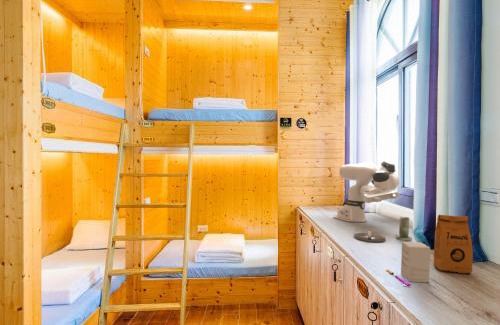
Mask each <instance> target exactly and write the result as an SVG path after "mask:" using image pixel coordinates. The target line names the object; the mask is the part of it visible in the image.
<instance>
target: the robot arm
mask: <svg viewBox="0 0 500 325" xmlns="http://www.w3.org/2000/svg"><path fill="white" fill-rule="evenodd" d="M395 172H396V165H395V163H393V161H391V160H388V159H384V160H382V161H381V162H380V164H379V165H377V164H375V163H373V162H363V163H355V164H353V163H352V164H351V163H350V164H344V165H342V166H341V167H340V168H339V176H340V178H341V179H343V180H347V181H356V184H354V185H351V186H350V187H349V188H348V192H347V194H348V195H347V199H346V200H344V203H345V204H344V205H343V206H341V207H340V208H338V209H337V213H336V214H335V215H334V216H333V218H334V219H336V220H337V219H338V220H341V221H346V222H348V223H349V222H354V223H355V222H356V223H361V222H362V223H365V222H367V218H366V213H365V212H366V209H365V208H366V203H367V204H371V203H380V202H382V201H386V200H391V199H395V200H396V199H397V198H399V197H400V194H399V191H398V190H396V189H397V187H398V186H399V184H400V180H399V177H398V176H397V175H396V174H395ZM370 183H371V184H372V185H373V186H372V185H369V184H370Z"/></svg>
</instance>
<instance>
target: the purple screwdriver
mask: <svg viewBox="0 0 500 325" xmlns="http://www.w3.org/2000/svg"><path fill="white" fill-rule="evenodd" d="M385 271H386V272H387V273H388V272H389V273H388V274H390V275H393V276H394V277H395V278H396V279H397V280H398V279H399V280H398V281H400V282H401V281H402V282H403V283H404V284H405V285H407V286H411V287H412V284H411V283H409V281H407V280H404V279H403V278H401V277H400V276H398V275H395V272H392V271H391V270H390V269H385ZM392 273H393V274H392ZM402 282H401V283H402ZM403 283H402V284H403ZM407 286H406V287H407Z"/></svg>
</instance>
